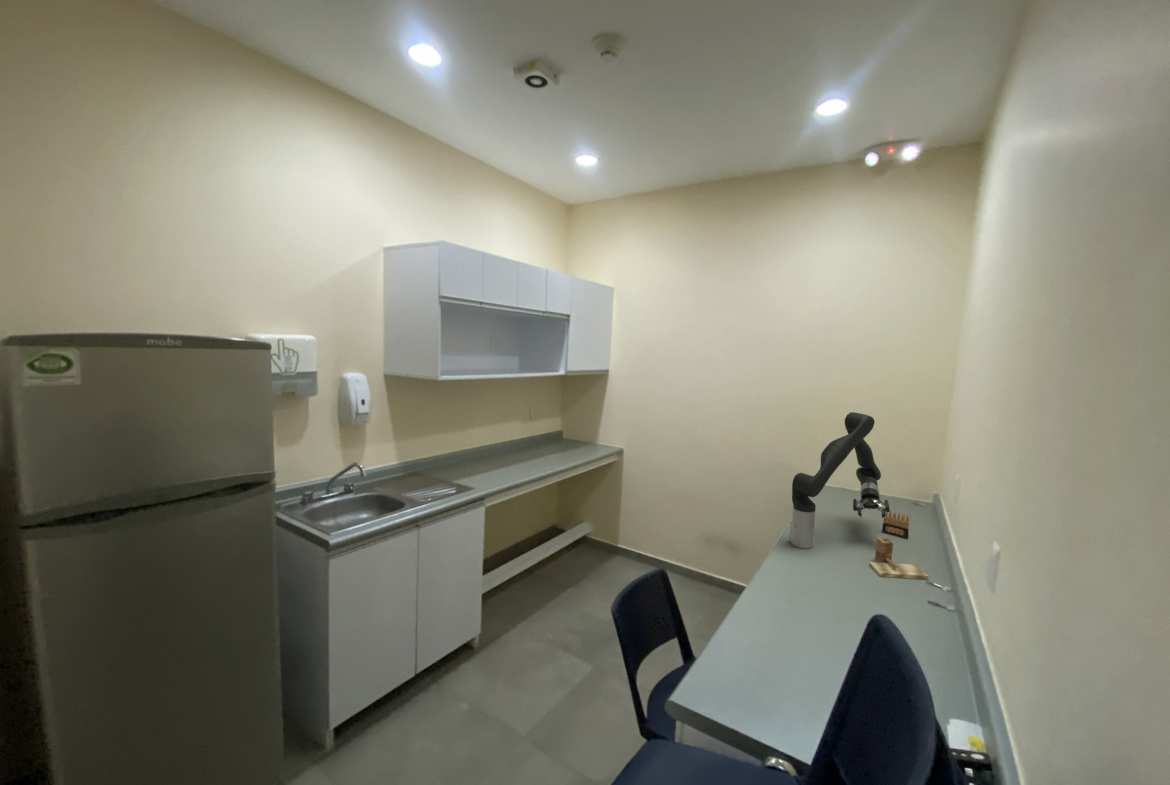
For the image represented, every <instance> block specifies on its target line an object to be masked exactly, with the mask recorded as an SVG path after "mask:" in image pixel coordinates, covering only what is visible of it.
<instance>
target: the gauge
mask: <svg viewBox="0 0 1170 785" xmlns="http://www.w3.org/2000/svg"><path fill="white" fill-rule="evenodd" d="M875 544H876V546H875V554H874V555H875V556H874V557H875V558H874V560H875V562H879V563H889V564H890V565H891V566H892V567H893V568H894V569H897V566H896V565H895V564H896V563H895V562H893V561H892V559H893V548H894V547H893V546H894V542H892V541H891V540H890V539H889V538H888V537H880V536H879V537H876V543H875ZM894 563H895V564H894Z"/></svg>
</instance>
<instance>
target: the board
mask: <svg viewBox="0 0 1170 785" xmlns="http://www.w3.org/2000/svg"><path fill="white" fill-rule="evenodd" d="M893 563H894V564H895V565H896V566H897V569H894V568H893V567H892V566H891V565H890V564H889V563H879V562H877V561H869V563H868V564H869V565H868V566H870V568H871V569H872V570H873V571H874V572H875V573H876V574H877V575H878V577H883V578H899V579H915V580H927V581H928V580H929V575H928V574H927V573H926V572H925V571H924V570H922V569H921V568H920V567H919V566H918V565H917V564H911V563H910V564H909V563H895V562H893Z"/></svg>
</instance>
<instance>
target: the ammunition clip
mask: <svg viewBox="0 0 1170 785" xmlns="http://www.w3.org/2000/svg"><path fill="white" fill-rule="evenodd" d="M885 515H886V516H885V517H884V518H883V523H882V528H881V533H882V534H886V535H889V536H893V537H897V538H901V539H906V540H909V537H910V536H909V533H910V515H909V514H906V515H905V513H904V512H903V513H902V516H901V512H900V511H899V512H898V513H897V512H896V510H895V511H894V512H892V509H890V512H885ZM905 517H906V518H905Z"/></svg>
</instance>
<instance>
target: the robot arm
mask: <svg viewBox="0 0 1170 785" xmlns="http://www.w3.org/2000/svg"><path fill="white" fill-rule="evenodd" d="M844 427H845V430H846V432H847V434H845V435H844V436H841V437H838V438H836V439H834V440H832V441H830V442H829V444H828V445H827V446H826V447H825V448H824V449H823V451H822V452H821V454H820V467H819V469H818V471H816V472H817V473H815V475H810V474H807V473H803V472H799V473H796V474H795V476H793V480H792V484H791V500H792V505H793V506H792V519H791V521H790V528H789V542H790V543H791V545H792V546H793V547H795V548H800V549H807V550H808V549H811V548H813V546H814V536H815V535H814V531H815V523H816V522H815V520H816V503H815V502H813V500H812V499H811V498H814V497H816V496H818V495H819V494H820V493H821V491H822V490H823V489H824V487H825V486H826V484H827V483H828V481H829V479H830V478H831V477H832V476H833V474H834V473H835V471H836V470H837V469H838V468H839V467H840V465H841V464H842V463H843V462H844V461H845V460H846V459H847V458H848V456H849V455H850V453H851V452H852V451H853V450H854V452H855V456H856V459H857V464H858V465H859V466H860V467H858V468H857V469H856V471H855V475H856V478H857V479H858V481H859V482H860V500H858V499H856V498H854V499H853V502H852V508H853V509H852V510H853V512H856V511H857V515H858V517H860V518H861V517H862V515H863V514H862V512H863V511H865V510H866V509H867V510H875V509H876V510H877V511H879V512H881V518H882V519H884V517H885V516H886V515H885V512H888V513H889V512H890V510H891V509H890V503H889V500H888V499H884V500H881V498H880V489H879V485H878V481H879V480H880V479H881V477H882V474H881V473H882V472H881V470H880V468H879V467H878V466H877V464H876V462H875V459H874V455H873V451H872V448H871V447H870V445H869V444H868V442H867V441H866V440H865V438H866V437H867V436H868V435H869V434H870V432H871V431H872V430H873V428H874V427H875V419H874V417H872V416H871V415H868V414H864V413H859V412H854V411H853V412H849V413H847V415H846V416H845V418H844Z"/></svg>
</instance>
